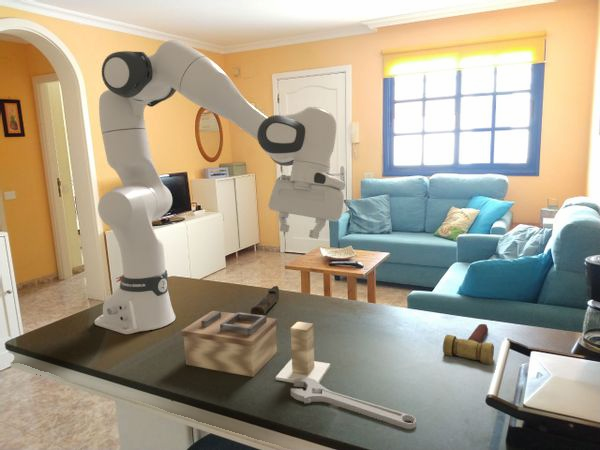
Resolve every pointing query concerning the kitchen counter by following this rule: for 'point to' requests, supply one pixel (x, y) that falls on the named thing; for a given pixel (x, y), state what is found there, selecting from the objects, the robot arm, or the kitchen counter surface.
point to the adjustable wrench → (348, 403)
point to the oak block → (302, 348)
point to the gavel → (470, 346)
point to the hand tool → (266, 302)
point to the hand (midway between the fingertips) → (298, 234)
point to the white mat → (290, 377)
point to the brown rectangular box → (231, 342)
